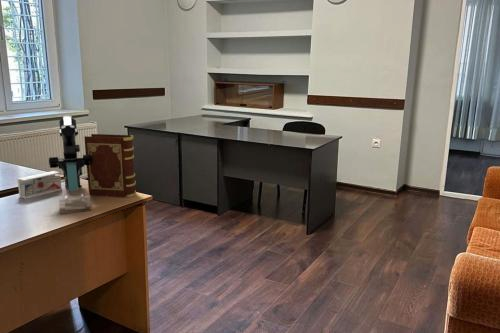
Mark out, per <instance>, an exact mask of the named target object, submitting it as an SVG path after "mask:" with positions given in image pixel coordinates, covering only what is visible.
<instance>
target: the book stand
mask: <svg viewBox="0 0 500 333" xmlns="http://www.w3.org/2000/svg"><path fill="white" fill-rule="evenodd" d="M58 207H59V208H58V209H59V210H58V213H59V215H67V214H75V213H83V212H91V211H92V207H91V201H90V196H84V193H80V197H74V198H68V194H67V195H64V199H59V206H58Z"/></svg>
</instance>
